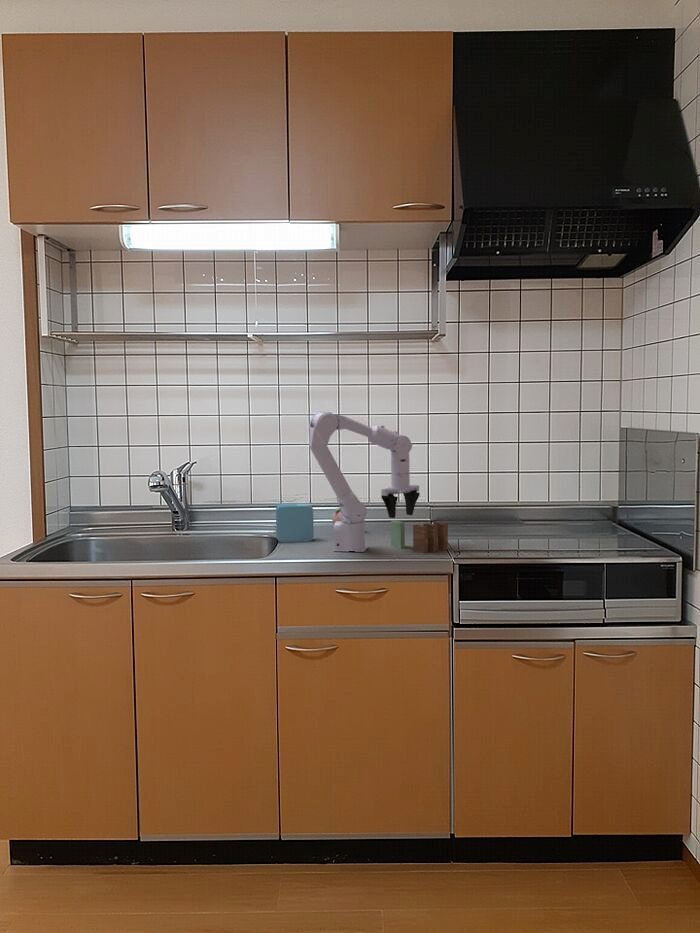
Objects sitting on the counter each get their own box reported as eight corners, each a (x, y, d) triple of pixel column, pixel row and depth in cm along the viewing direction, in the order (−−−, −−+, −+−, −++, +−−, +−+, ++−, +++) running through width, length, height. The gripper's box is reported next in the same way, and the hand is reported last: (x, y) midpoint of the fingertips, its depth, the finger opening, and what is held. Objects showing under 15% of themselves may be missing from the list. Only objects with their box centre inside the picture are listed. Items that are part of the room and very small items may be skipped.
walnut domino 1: (423, 553, 240) (423, 527, 239) (413, 550, 244) (413, 525, 243) (427, 552, 240) (427, 526, 240) (417, 550, 245) (417, 524, 244)
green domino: (400, 548, 247) (400, 523, 247) (391, 546, 251) (390, 521, 251) (404, 547, 248) (404, 522, 247) (395, 545, 252) (394, 520, 252)
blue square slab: (312, 538, 265) (311, 503, 264) (313, 541, 261) (313, 505, 260) (276, 540, 264) (275, 504, 262) (277, 542, 259) (276, 506, 258)
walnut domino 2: (433, 551, 242) (433, 525, 241) (423, 549, 246) (423, 523, 245) (437, 551, 243) (437, 525, 242) (427, 548, 247) (427, 523, 246)
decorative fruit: (347, 536, 269) (346, 507, 268) (328, 533, 274) (328, 505, 273) (363, 532, 276) (363, 503, 275) (345, 529, 281) (344, 502, 280)
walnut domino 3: (443, 550, 244) (443, 524, 243) (433, 547, 248) (433, 522, 247) (447, 549, 245) (447, 523, 244) (437, 547, 249) (437, 521, 248)
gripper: (392, 476, 240) (392, 520, 242) (425, 472, 250) (426, 515, 251) (376, 474, 246) (377, 517, 247) (410, 470, 255) (410, 512, 256)
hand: (400, 516), depth 249 cm, fingers open, 7 cm apart
